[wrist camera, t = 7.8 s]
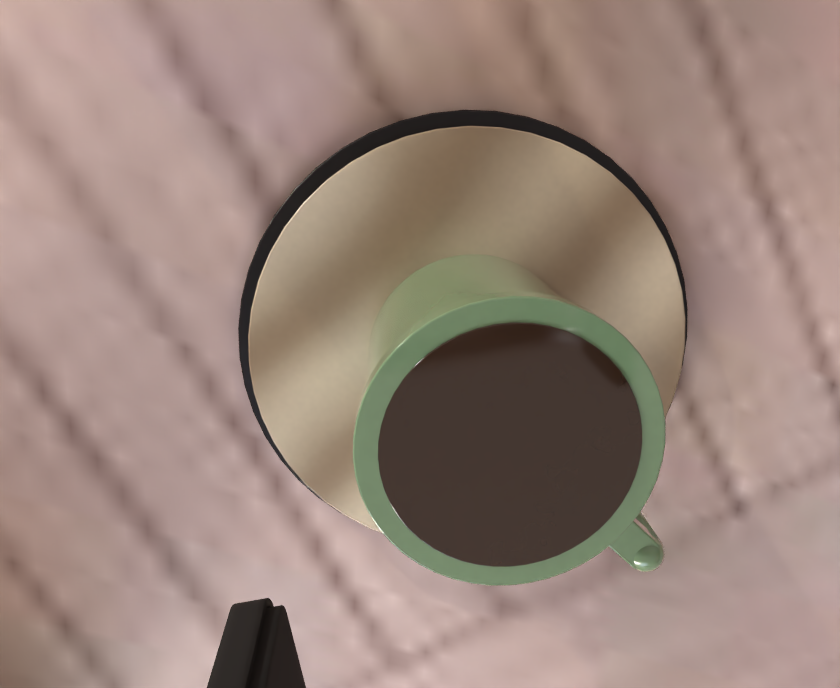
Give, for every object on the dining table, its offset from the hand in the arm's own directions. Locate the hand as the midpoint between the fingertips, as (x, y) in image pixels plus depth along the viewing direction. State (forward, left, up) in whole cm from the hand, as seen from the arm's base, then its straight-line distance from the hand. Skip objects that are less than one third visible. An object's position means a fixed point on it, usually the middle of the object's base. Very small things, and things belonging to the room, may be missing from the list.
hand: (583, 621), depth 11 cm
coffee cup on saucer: (0, 0, -14) cm, 14 cm away
